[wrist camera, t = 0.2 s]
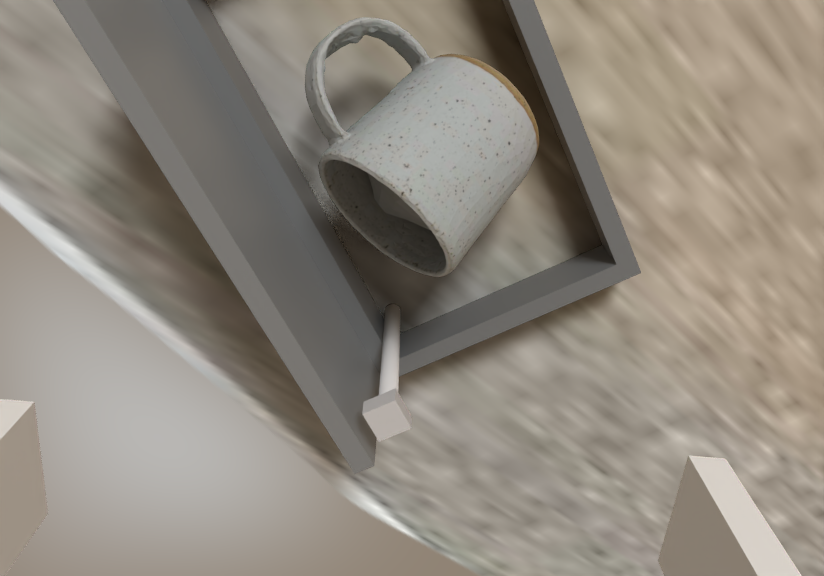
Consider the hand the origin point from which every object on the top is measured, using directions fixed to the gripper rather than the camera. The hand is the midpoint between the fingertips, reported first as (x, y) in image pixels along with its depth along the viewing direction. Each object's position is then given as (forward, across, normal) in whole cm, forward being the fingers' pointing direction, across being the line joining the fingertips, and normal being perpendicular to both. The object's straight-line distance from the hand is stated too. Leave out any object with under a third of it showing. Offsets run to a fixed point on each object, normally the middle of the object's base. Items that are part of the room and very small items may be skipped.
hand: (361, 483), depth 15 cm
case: (+26, +1, +3) cm, 26 cm away
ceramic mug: (+26, +1, +3) cm, 26 cm away
